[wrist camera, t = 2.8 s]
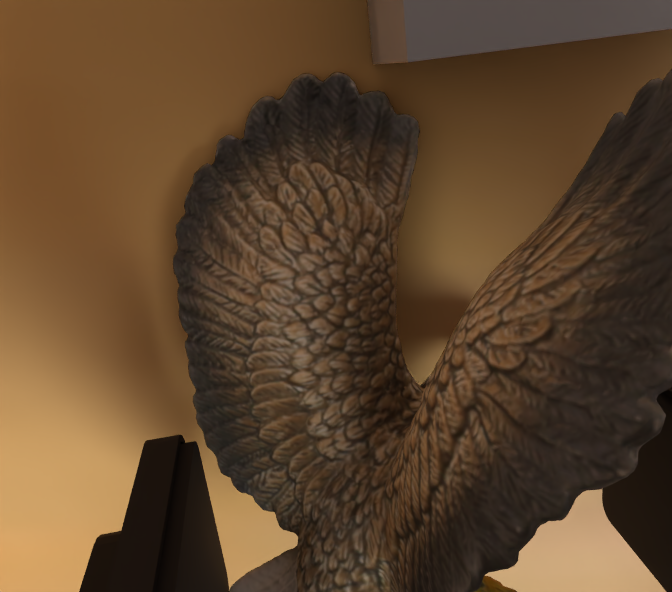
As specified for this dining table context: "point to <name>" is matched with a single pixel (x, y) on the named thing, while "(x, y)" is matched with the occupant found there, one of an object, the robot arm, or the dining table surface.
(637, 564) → the dining table surface
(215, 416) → the eagle figurine
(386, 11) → the holder
